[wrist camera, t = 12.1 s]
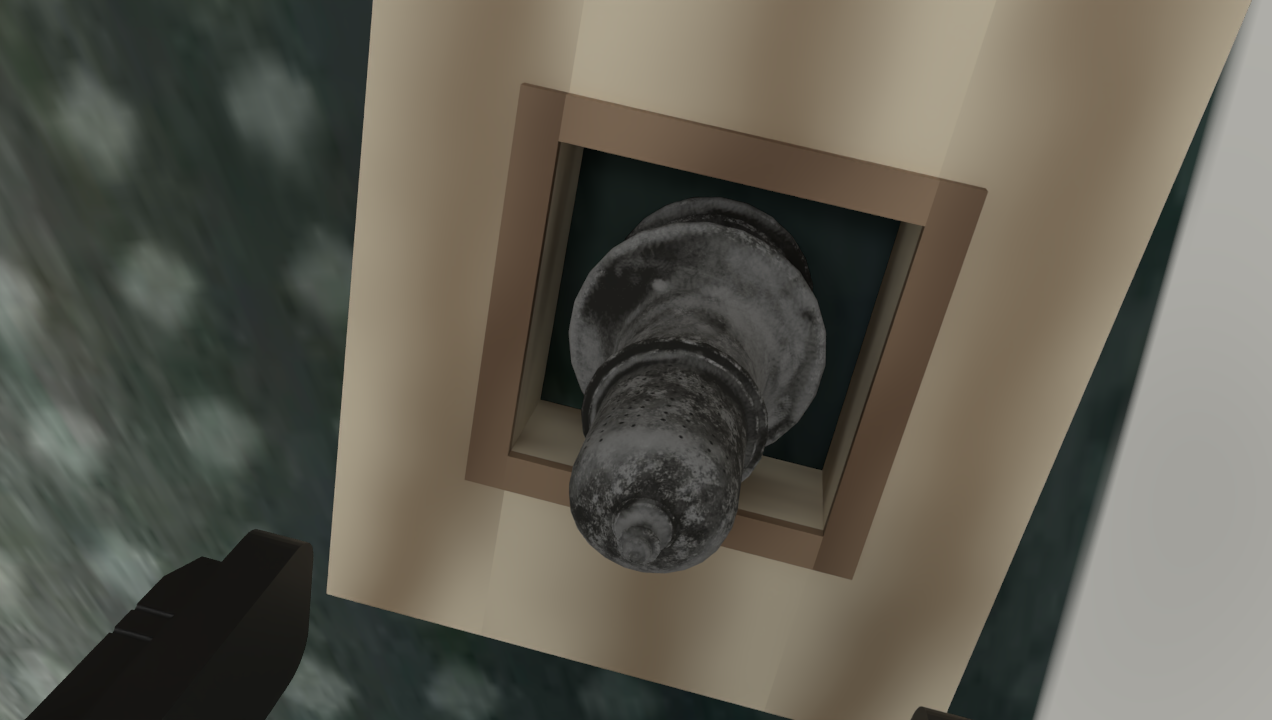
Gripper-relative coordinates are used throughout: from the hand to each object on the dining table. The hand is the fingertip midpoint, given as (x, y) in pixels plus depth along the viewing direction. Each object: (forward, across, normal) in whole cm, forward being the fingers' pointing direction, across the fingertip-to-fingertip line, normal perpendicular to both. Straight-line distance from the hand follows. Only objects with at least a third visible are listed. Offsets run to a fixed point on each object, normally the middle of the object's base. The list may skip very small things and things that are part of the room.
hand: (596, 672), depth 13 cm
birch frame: (+14, 0, 0) cm, 14 cm away
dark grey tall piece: (+15, 0, 0) cm, 15 cm away
